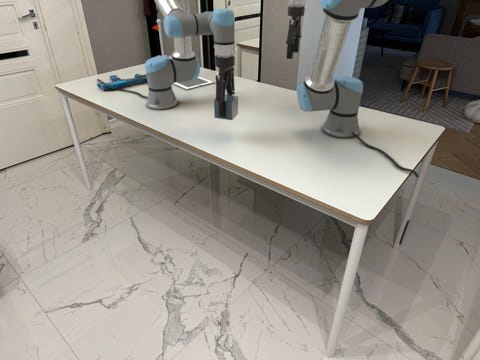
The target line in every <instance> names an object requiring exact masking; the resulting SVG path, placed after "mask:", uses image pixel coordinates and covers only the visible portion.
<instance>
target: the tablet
mask: <svg viewBox="0 0 480 360" xmlns="http://www.w3.org/2000/svg"><path fill="white" fill-rule="evenodd" d="M214 83H215V81H213V80H209V79H207V78H205V77H202V76H200V75H199V76H198V77H197V79H195V80H191V81H184V82H177V83H172V85H174V86H177V87H180V88H182V89H184V90H191V89H195V88H200V87H204V86H207V85H212V84H214Z"/></svg>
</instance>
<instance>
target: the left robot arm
mask: <svg viewBox="0 0 480 360" xmlns="http://www.w3.org/2000/svg"><path fill="white" fill-rule="evenodd" d="M154 3H155V4H156V7H158V9H159V11H160V13H161V14H162V16H163V29H164V31H165V32H164V33H165V35H166V36H167V37H168V38H170V39H173V45H174V46H173V47H174V51H172V53H171V56H172V59H169V58H168V57H169V56H168V55H167V56H162V55H160V56H159V55H157V56H158V57H157V56H154V57H151V58H149V59H147V60H146V61H145V64H144V66H145V74H146V75H147V81H146V82H147V87H148V94H147V96H146V95H143V94H141V93H140V92H138V91H134V90H129V89H124V88H120V87H117V88H116V89H115V90H119V91H123V92H128V93H132V94H135V95H139V96H140V97H141V98H143V99H146V105H147V108H149V109H151V110H167V109H171V108H173V107H176V106H177V105H178V100H177V96H176V94H175V93H174V90H173V84H172V83H177V82H184V81H191V80H195V79H197V77H198V76H199V77H200V73H201V72H200V71H201V63H200V59H199V57H198V56H197V55H196V53H195V52H194V51H193V37H197V36H209V35H211V36H213V44H214V45H213V48H214V55H215V56H214V66H215V67H216V68H218V75H217V74H215V98H216V101H218V102H219V117H226V101H225V95H231V96H234V95H236V92H235V91H236V87H235V65H236V57H235V55H236V48H235V47H236V44H235V43H236V42H235V26H236V25H235V22H236V21H235V12H234V10H233V9H230V8H217V9H214V10H213V11H211V10H210V11H208V10H207V11H204V12H200V13H191V0H154ZM96 80H97V81H98V82H99V83H105V82H104V81H102V80H101V79H99V78H97V79H96Z"/></svg>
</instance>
